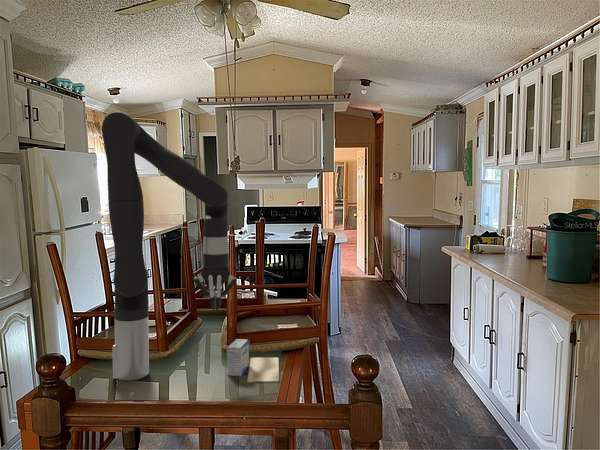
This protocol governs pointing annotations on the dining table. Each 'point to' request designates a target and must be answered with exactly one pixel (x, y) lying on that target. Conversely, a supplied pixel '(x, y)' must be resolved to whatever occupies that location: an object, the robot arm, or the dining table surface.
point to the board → (263, 370)
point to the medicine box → (238, 357)
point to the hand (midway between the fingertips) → (215, 309)
